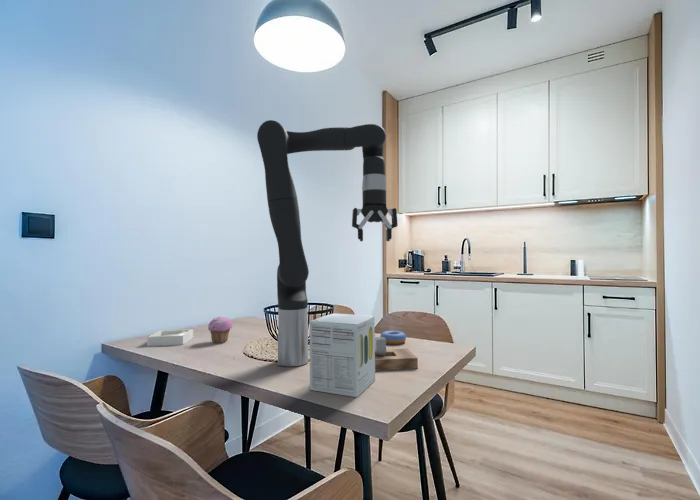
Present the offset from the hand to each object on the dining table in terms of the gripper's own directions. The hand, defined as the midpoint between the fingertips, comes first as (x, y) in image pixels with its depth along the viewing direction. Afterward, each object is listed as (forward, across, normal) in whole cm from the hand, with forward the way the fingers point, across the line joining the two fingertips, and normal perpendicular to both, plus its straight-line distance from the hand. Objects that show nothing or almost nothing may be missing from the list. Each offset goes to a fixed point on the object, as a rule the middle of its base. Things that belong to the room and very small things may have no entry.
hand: (374, 241), depth 115 cm
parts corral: (+38, -76, +39) cm, 94 cm away
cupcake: (+38, -56, +35) cm, 76 cm away
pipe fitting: (+39, -75, +39) cm, 92 cm away
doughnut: (+38, +11, +25) cm, 47 cm away
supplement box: (+38, -12, -19) cm, 44 cm away
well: (+38, +1, -2) cm, 38 cm away
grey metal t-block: (+38, +1, -2) cm, 38 cm away
